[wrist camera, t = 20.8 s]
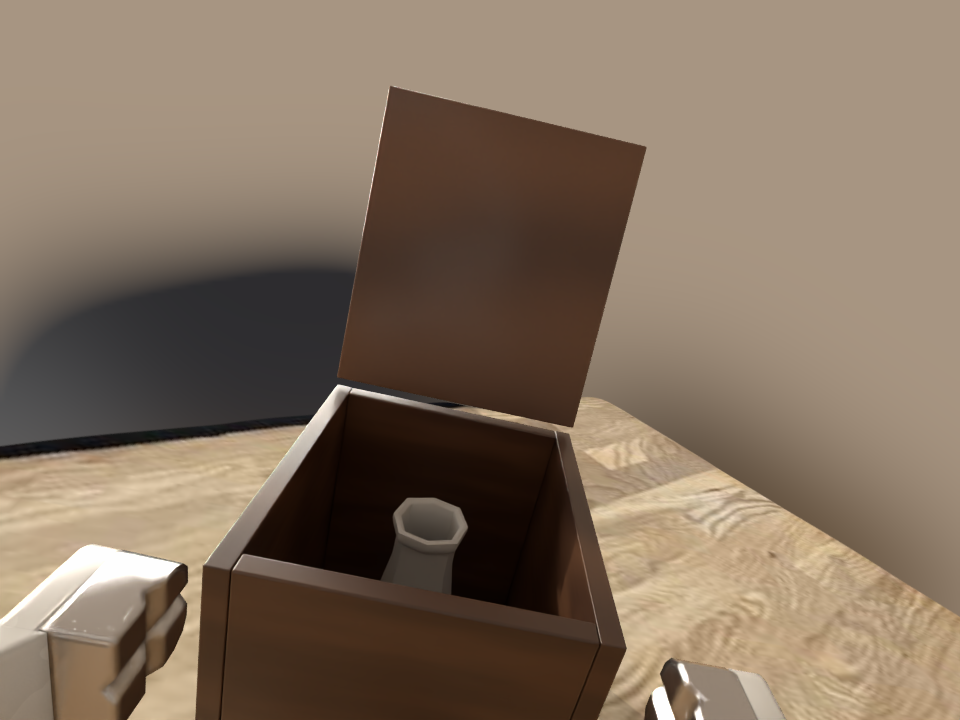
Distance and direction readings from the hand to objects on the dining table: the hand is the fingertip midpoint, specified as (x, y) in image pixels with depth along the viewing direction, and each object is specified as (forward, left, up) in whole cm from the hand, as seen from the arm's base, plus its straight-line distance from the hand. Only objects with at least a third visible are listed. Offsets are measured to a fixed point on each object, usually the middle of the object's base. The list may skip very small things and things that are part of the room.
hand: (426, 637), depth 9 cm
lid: (-3, +19, +3) cm, 20 cm away
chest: (-2, +12, -17) cm, 21 cm away
